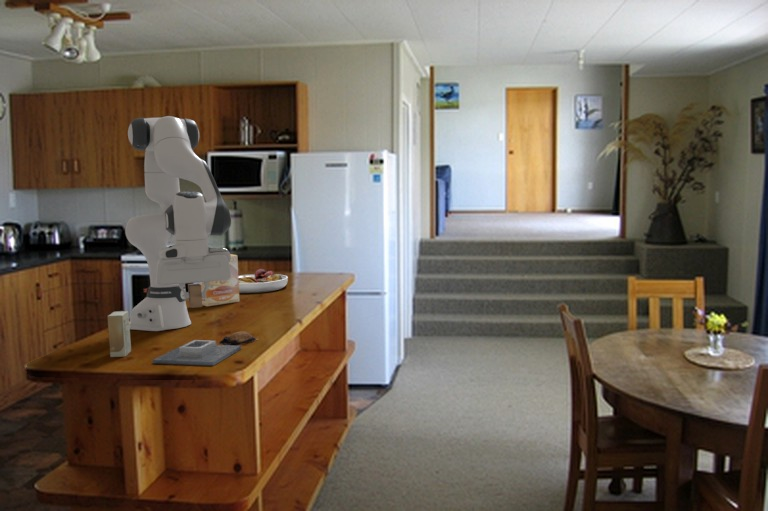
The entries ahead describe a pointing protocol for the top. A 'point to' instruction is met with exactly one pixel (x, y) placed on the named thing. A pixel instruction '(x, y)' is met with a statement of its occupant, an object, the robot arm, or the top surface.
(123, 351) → the skincare box
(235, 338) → the bread roll
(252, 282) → the bowl
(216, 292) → the coffeecake box
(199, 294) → the walnut peg
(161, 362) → the metal duct collar
